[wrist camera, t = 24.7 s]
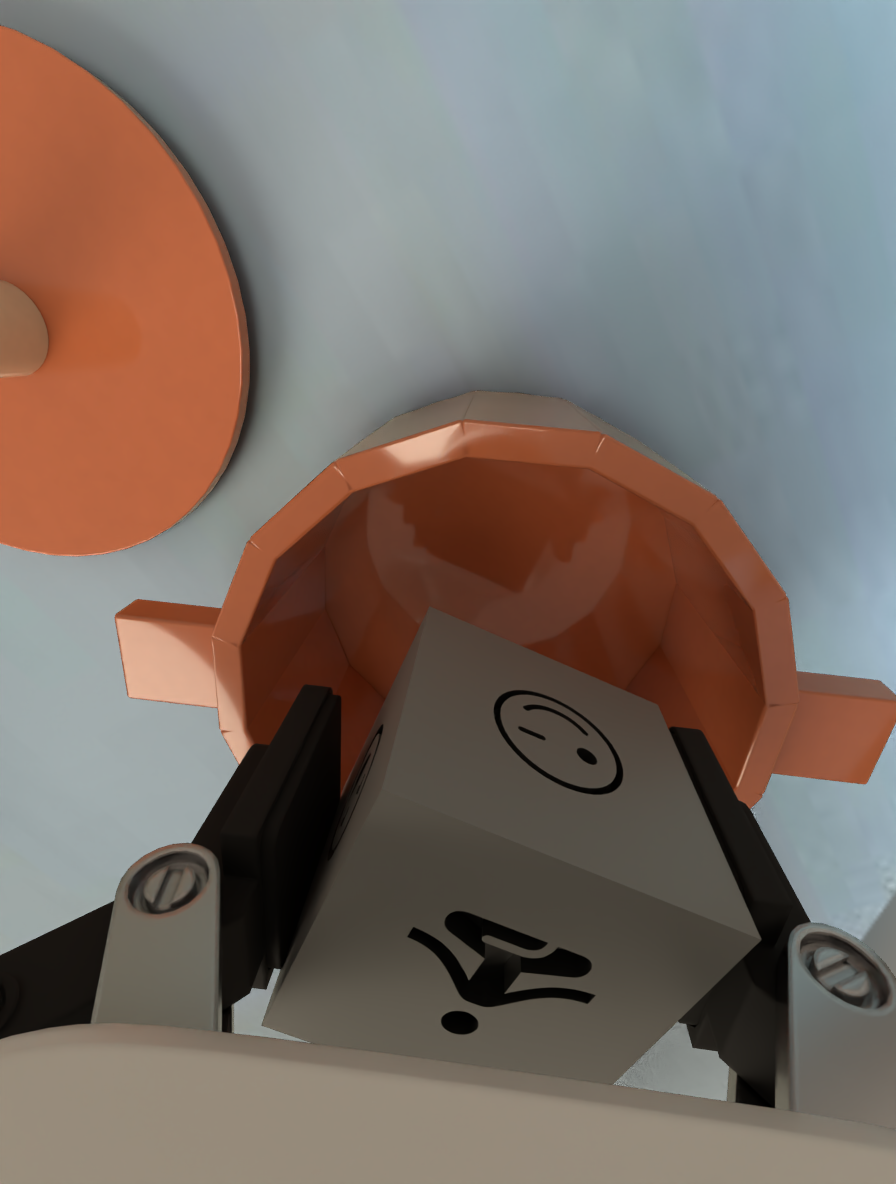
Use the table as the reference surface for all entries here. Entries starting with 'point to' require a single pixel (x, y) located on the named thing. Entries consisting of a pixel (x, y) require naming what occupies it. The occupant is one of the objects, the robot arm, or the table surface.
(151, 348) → the lid
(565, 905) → the dice cube
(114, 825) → the table surface
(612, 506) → the pot
